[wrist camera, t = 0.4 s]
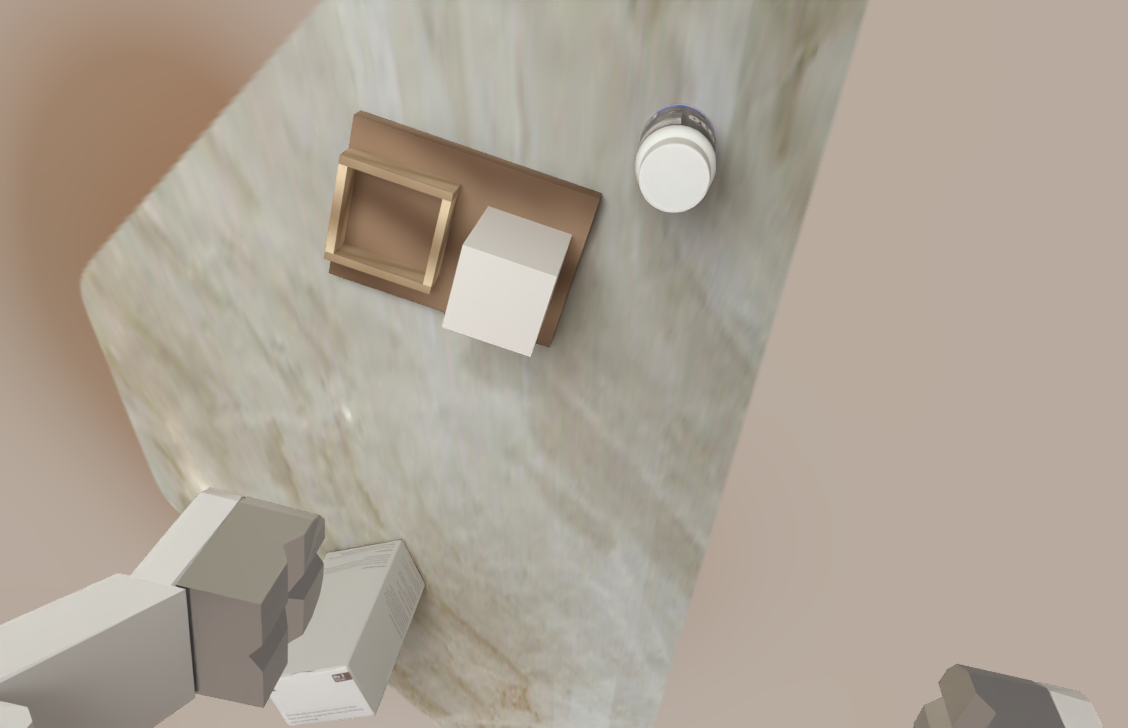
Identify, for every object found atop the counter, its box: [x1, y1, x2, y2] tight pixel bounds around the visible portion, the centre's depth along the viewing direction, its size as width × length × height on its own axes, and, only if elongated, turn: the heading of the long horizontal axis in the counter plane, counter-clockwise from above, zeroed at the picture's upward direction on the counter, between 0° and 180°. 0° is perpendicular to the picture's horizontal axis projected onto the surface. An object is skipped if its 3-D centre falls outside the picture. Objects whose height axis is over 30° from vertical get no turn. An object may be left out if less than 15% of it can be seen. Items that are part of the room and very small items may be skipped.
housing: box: [442, 206, 572, 357], centre depth 54 cm, size 6×6×7 cm
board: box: [324, 110, 602, 347], centre depth 55 cm, size 12×17×5 cm
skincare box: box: [270, 540, 425, 726], centre depth 69 cm, size 8×6×15 cm
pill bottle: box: [635, 104, 716, 213], centre depth 48 cm, size 5×5×8 cm
